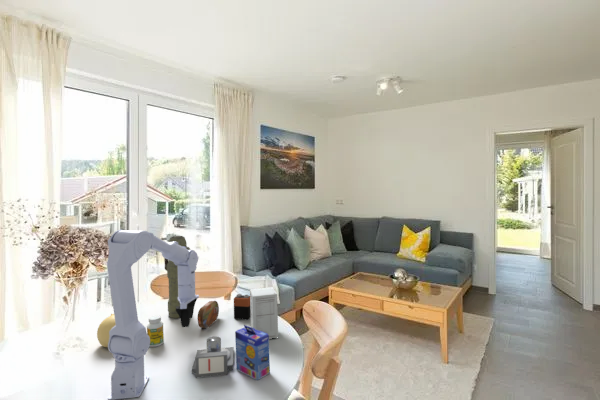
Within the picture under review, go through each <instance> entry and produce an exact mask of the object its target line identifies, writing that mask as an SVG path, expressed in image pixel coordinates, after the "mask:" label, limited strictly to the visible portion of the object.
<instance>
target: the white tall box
mask: <svg viewBox="0 0 600 400" xmlns="http://www.w3.org/2000/svg"><path fill="white" fill-rule="evenodd" d="M249 296H250V309H251V317H250V327H252V328H255V330H259V331H262V332H265V333H267V334H268V335H269V340H273V339H272V338H276V339H278V338H279V317H278V315H279V313H278V293H277V291H276V290H275V289H274V287H273V286H271V287H262V288H251V289H249ZM277 337H278V338H277Z"/></svg>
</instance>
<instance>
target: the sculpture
mask: <svg viewBox="0 0 600 400" xmlns="http://www.w3.org/2000/svg"><path fill="white" fill-rule="evenodd" d="M115 325H116V323H115V316H114V313H111V314H110V316H108V317H106V318H104V319H103V320H102V321H101V322H100V324H99V326H98V328H97V331H96V332H97V333H96V337H97V341H98V342H99V344H100V345H101V346H102V347H103V348H108V342H109V331H110V330H111V329H112V328H113V327H114V326H115Z"/></svg>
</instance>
